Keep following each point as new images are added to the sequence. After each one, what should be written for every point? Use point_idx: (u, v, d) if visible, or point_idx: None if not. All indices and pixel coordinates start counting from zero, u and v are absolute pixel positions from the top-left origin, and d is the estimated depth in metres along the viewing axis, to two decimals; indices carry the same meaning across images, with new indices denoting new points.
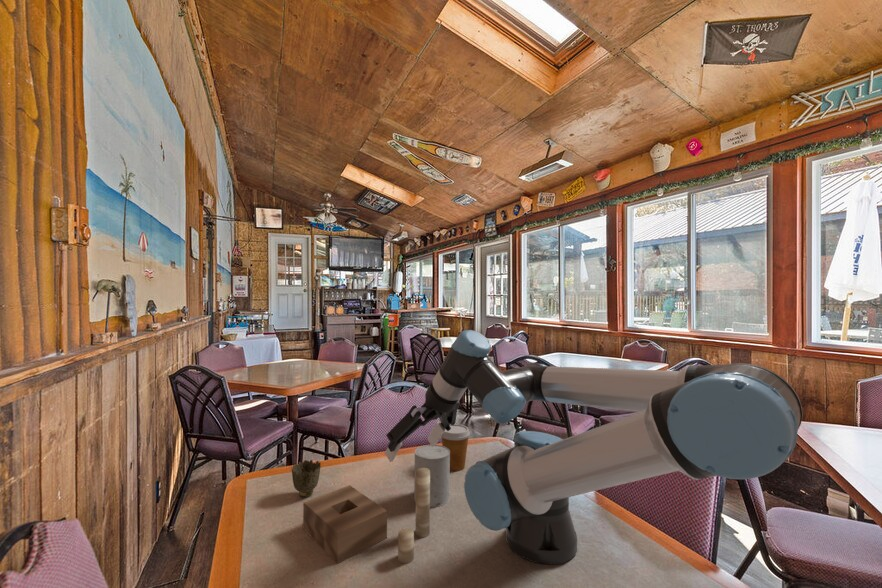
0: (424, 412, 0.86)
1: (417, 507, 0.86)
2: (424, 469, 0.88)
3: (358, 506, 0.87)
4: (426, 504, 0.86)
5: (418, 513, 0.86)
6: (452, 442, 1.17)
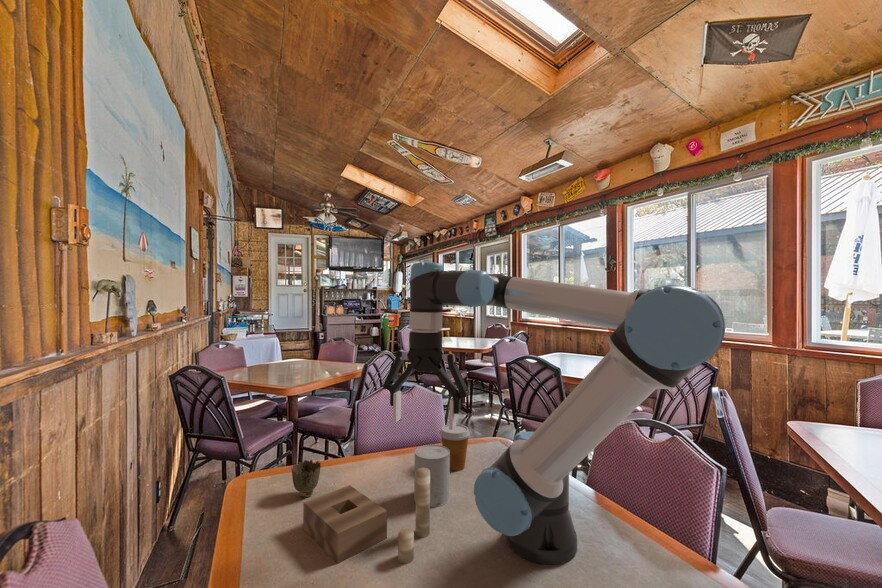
0: (407, 354, 0.88)
1: (417, 507, 0.86)
2: (424, 469, 0.88)
3: (358, 506, 0.87)
4: (426, 504, 0.86)
5: (418, 513, 0.86)
6: (452, 442, 1.17)
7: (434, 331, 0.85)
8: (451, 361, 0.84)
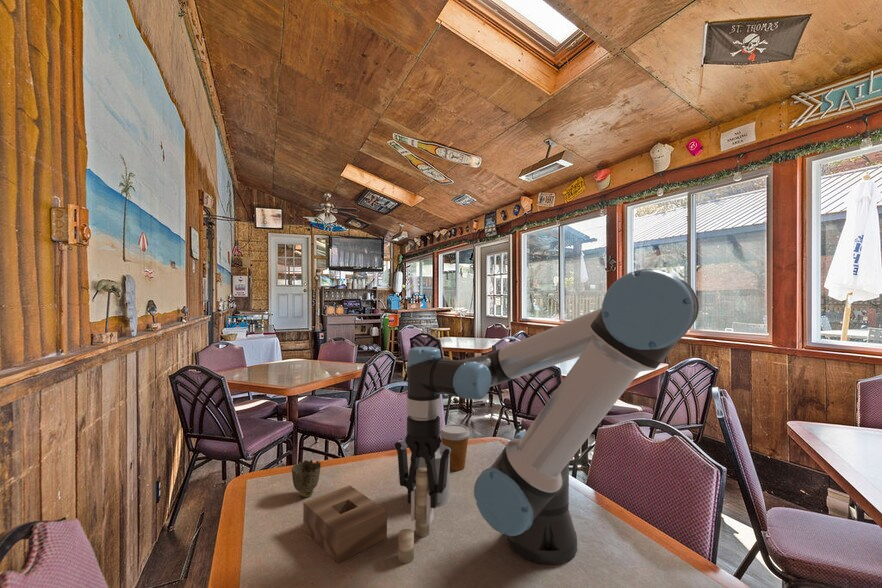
0: (405, 439, 0.88)
1: (417, 507, 0.86)
2: (424, 469, 0.88)
3: (358, 506, 0.87)
4: (425, 503, 0.86)
5: (418, 513, 0.86)
6: (452, 442, 1.17)
7: (432, 418, 0.85)
8: (445, 457, 0.84)
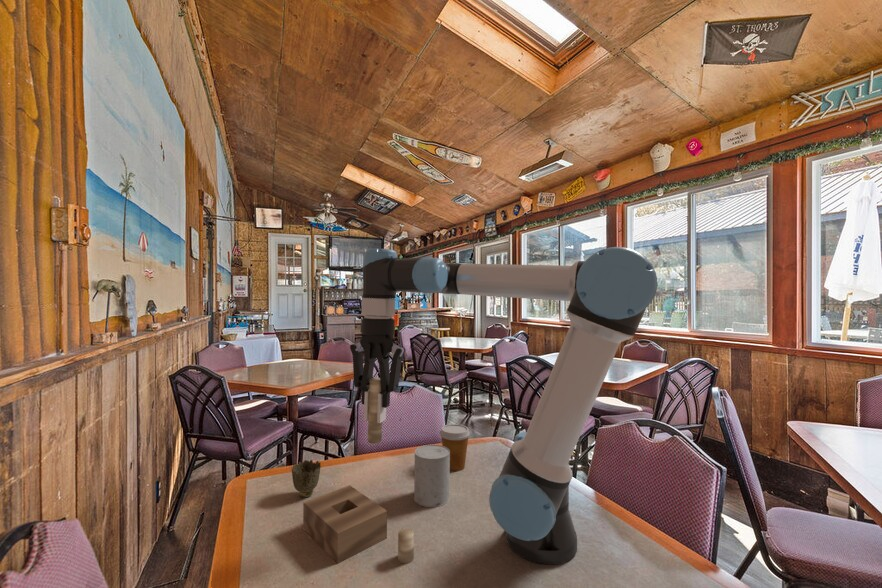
0: (360, 340, 0.88)
1: (369, 414, 0.86)
2: (378, 379, 0.88)
3: (358, 506, 0.87)
4: None
5: (370, 420, 0.86)
6: (452, 442, 1.17)
7: (385, 317, 0.85)
8: (397, 355, 0.84)
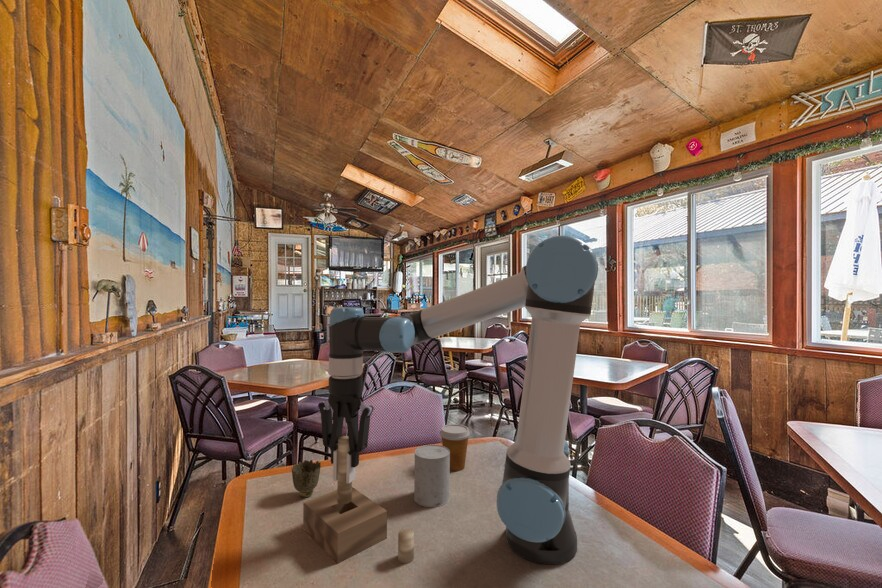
0: (328, 399, 0.88)
1: (338, 474, 0.86)
2: (347, 437, 0.88)
3: (358, 506, 0.87)
4: None
5: (339, 480, 0.85)
6: (452, 442, 1.17)
7: (352, 377, 0.84)
8: (365, 415, 0.84)
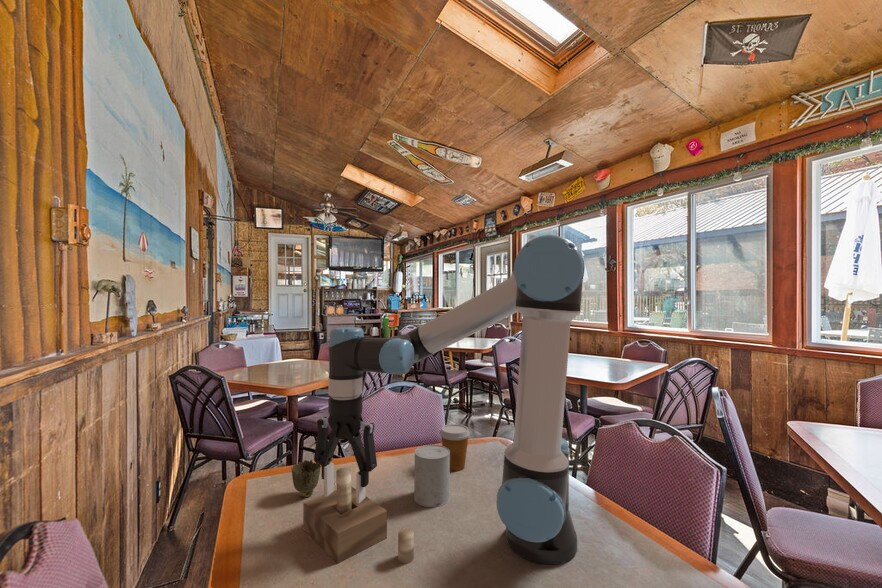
0: (328, 419, 0.88)
1: (337, 507, 0.86)
2: (345, 468, 0.88)
3: (358, 506, 0.87)
4: (346, 503, 0.85)
5: None
6: (452, 442, 1.17)
7: (352, 398, 0.84)
8: (367, 433, 0.84)
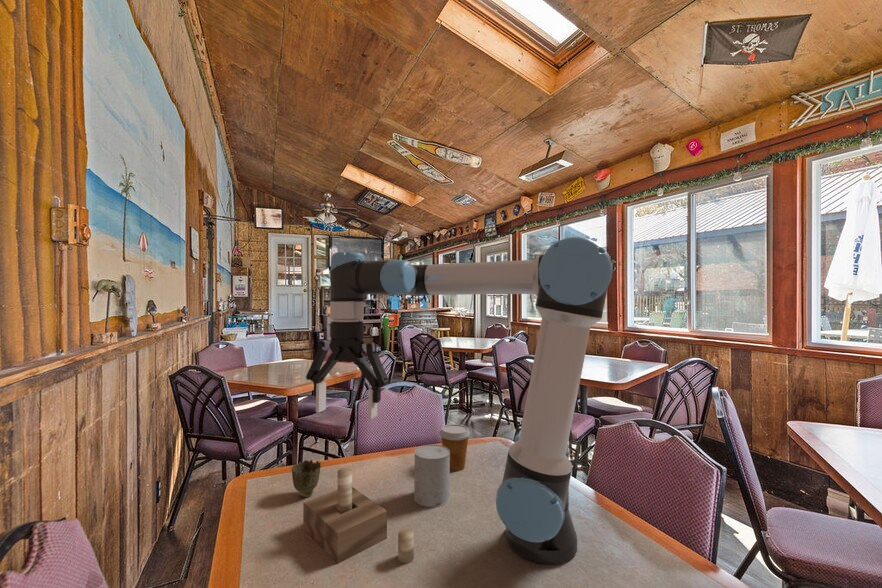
0: None
1: (338, 507, 0.86)
2: (346, 469, 0.87)
3: (358, 506, 0.87)
4: (346, 504, 0.85)
5: None
6: (452, 442, 1.17)
7: (353, 320, 0.85)
8: (370, 350, 0.84)
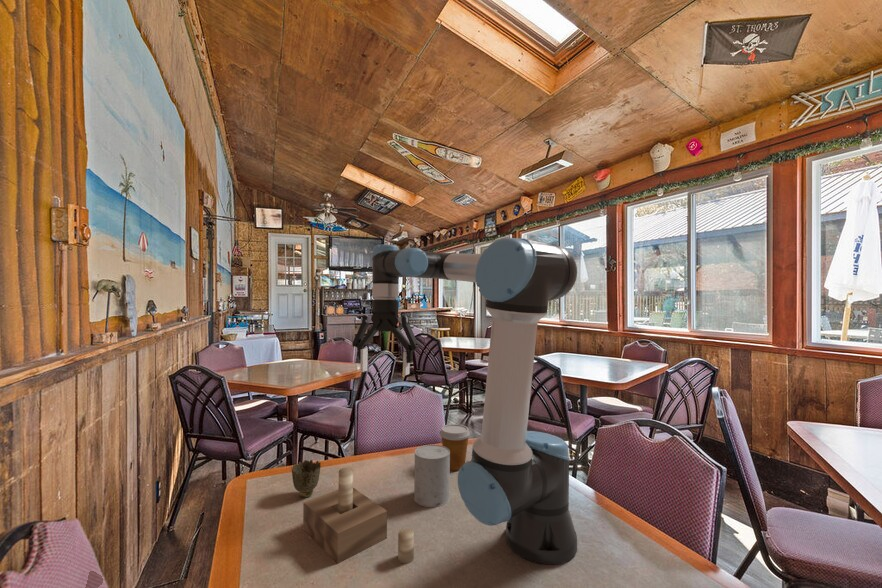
0: (371, 318, 1.11)
1: (339, 507, 0.86)
2: (348, 469, 0.88)
3: (358, 506, 0.87)
4: (347, 503, 0.85)
5: (340, 513, 0.85)
6: (452, 442, 1.17)
7: (391, 298, 1.08)
8: (404, 321, 1.07)
